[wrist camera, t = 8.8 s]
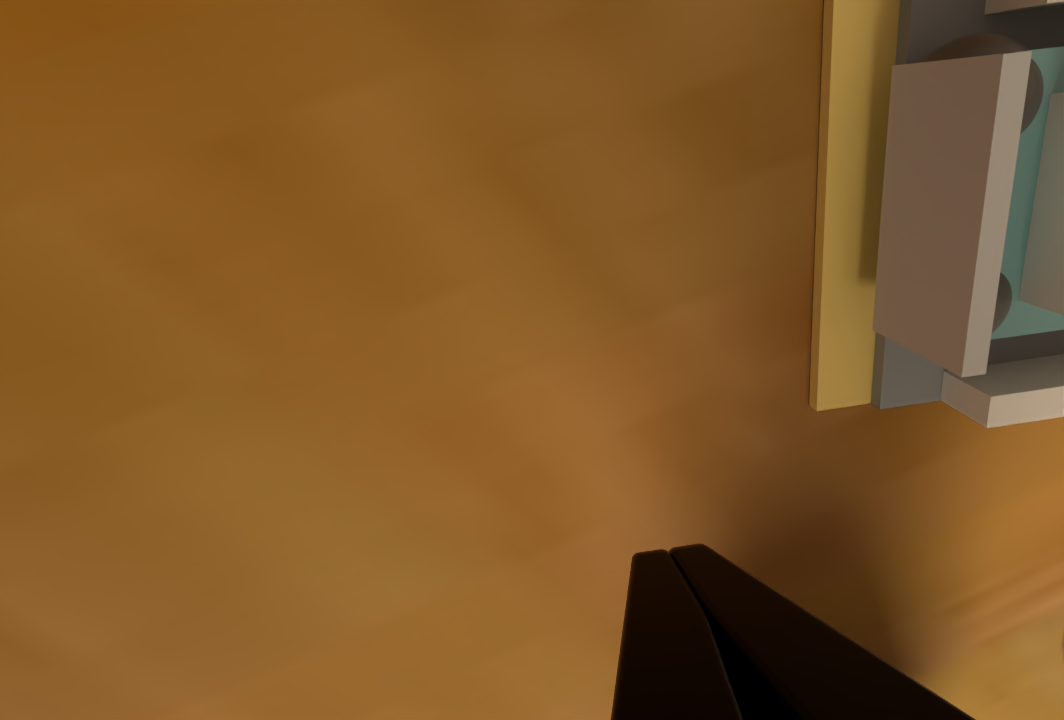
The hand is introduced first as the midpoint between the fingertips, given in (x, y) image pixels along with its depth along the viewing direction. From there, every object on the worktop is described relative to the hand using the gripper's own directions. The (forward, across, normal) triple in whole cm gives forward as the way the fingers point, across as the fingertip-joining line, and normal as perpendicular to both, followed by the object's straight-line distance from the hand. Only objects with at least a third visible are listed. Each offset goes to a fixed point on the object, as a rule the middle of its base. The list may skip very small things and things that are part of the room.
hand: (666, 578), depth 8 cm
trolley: (+12, -13, -2) cm, 18 cm away
